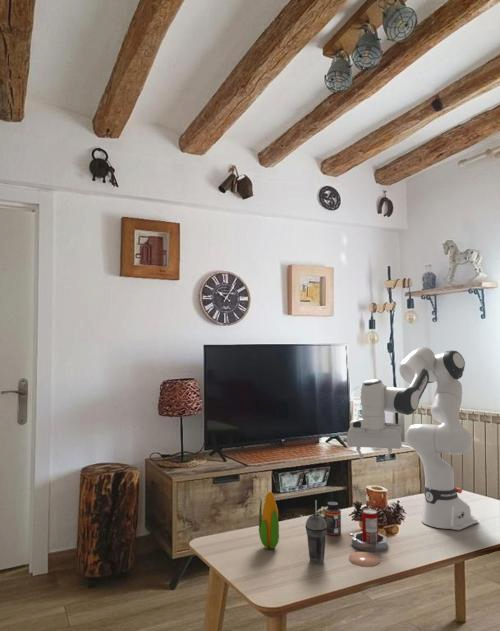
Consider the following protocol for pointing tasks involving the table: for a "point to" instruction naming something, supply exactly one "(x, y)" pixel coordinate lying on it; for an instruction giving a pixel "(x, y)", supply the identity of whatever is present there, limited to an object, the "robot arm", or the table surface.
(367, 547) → the collar
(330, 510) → the supplement bottle
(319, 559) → the beverage cup
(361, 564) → the peach dome
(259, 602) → the table surface
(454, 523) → the robot arm
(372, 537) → the soda can
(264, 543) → the corn
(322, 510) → the fruit
